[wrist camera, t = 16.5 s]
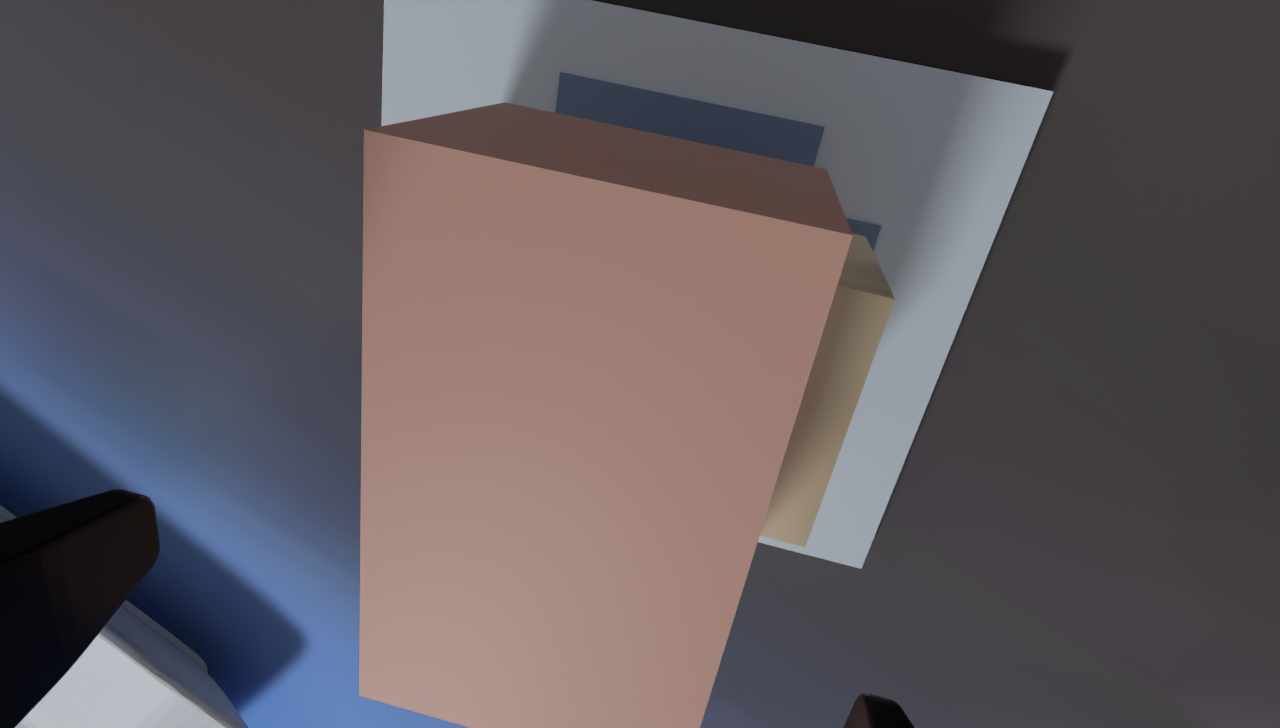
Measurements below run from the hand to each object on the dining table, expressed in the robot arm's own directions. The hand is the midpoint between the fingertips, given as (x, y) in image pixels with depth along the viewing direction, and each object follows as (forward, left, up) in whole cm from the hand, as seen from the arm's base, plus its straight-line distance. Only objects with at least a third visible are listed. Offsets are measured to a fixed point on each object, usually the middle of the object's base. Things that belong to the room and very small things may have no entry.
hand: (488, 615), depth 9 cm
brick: (0, 0, -7) cm, 7 cm away
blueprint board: (0, 0, -13) cm, 13 cm away
